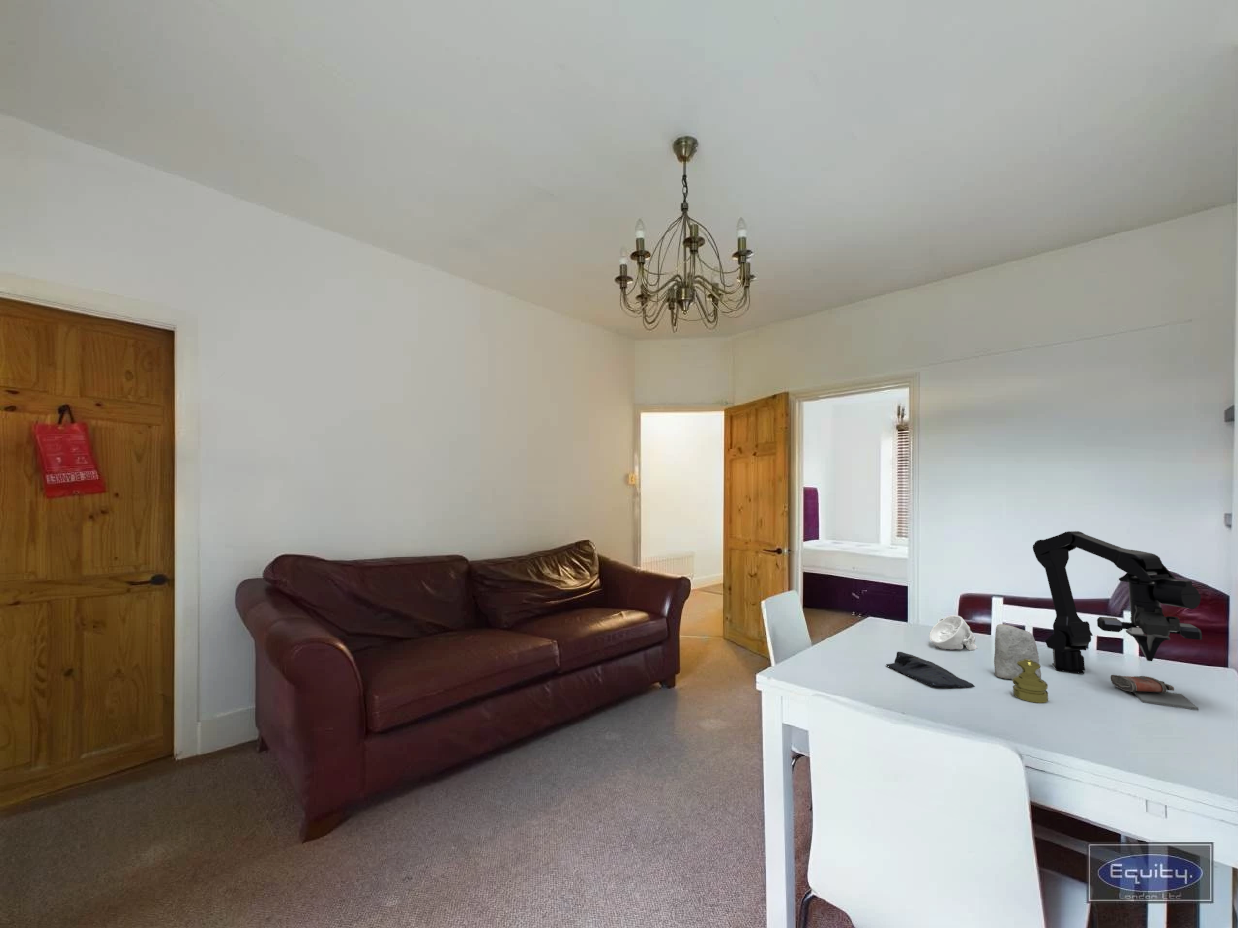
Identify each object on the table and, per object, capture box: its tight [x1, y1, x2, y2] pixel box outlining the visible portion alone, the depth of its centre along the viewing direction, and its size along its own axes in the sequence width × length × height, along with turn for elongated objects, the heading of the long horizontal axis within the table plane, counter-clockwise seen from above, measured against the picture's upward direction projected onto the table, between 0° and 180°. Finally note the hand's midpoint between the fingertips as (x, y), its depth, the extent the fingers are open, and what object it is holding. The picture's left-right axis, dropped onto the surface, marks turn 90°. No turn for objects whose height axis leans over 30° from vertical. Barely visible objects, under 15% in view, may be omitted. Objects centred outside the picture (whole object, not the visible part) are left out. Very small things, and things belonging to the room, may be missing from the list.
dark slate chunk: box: [885, 651, 976, 689], centre depth 154 cm, size 15×22×5 cm
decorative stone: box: [993, 623, 1042, 680], centre depth 151 cm, size 11×6×15 cm, turn 65°
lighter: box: [1110, 674, 1175, 693], centre depth 139 cm, size 8×3×10 cm
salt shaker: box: [1011, 659, 1049, 704], centre depth 137 cm, size 7×7×10 cm
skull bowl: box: [928, 614, 978, 651], centre depth 180 cm, size 10×14×12 cm
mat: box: [1132, 691, 1199, 711], centre depth 134 cm, size 10×10×1 cm
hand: (1149, 660), depth 135 cm, fingers closed
